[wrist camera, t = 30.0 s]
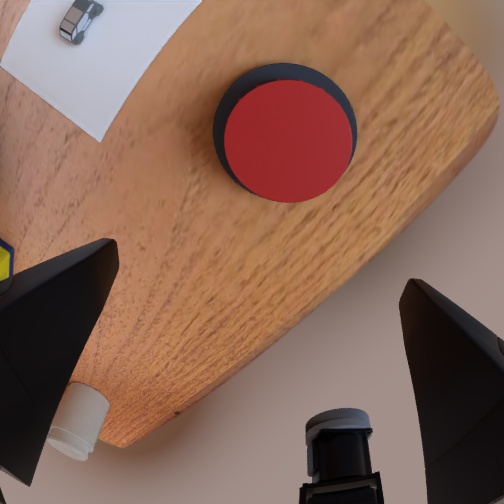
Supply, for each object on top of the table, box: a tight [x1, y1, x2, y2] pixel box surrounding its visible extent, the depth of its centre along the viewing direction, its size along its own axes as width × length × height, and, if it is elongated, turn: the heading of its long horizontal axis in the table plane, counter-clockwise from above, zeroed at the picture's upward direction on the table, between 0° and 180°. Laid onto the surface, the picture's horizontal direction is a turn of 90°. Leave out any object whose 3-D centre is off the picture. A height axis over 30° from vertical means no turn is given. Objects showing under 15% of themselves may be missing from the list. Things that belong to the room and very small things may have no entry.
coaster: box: [213, 63, 357, 197], centre depth 17 cm, size 8×8×1 cm
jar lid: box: [224, 79, 352, 203], centre depth 16 cm, size 6×6×2 cm
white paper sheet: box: [0, 0, 202, 142], centre depth 13 cm, size 12×12×2 cm
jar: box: [46, 382, 110, 461], centre depth 30 cm, size 6×6×9 cm
